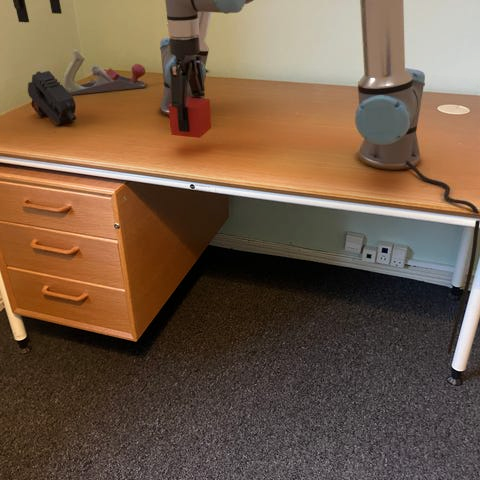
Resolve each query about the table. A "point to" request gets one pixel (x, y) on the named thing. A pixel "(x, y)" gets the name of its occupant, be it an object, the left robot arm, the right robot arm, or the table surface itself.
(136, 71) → the hand plane
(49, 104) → the tool
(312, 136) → the table surface
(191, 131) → the block
